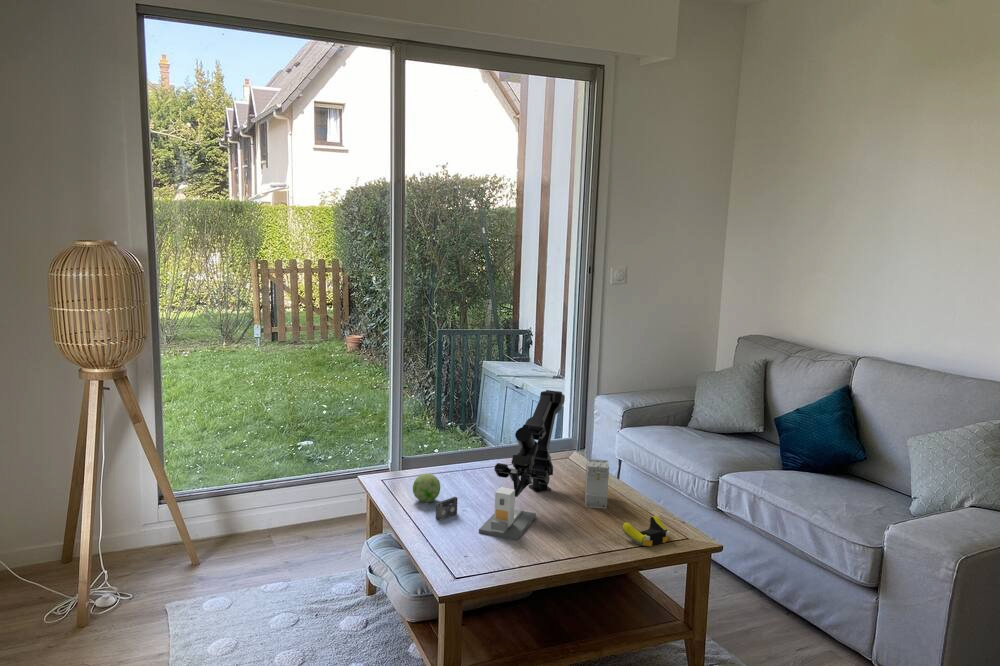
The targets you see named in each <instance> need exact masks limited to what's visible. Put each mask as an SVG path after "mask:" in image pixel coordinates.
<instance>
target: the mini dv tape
mask: <svg viewBox="0 0 1000 666" xmlns="http://www.w3.org/2000/svg"><path fill="white" fill-rule="evenodd" d="M455 514H456V515H457V514H458V497H457V496H453V497H450V498H447V499H444V500H442V501H438V502H436V504H435V520H436V519H437V521H438V520H439V521H441V519H442V520H444V518H445V519H447V518H450V517H453V516H455ZM452 515H453V516H452ZM449 516H450V517H449Z"/></svg>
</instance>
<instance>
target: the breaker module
mask: <svg viewBox="0 0 1000 666" xmlns="http://www.w3.org/2000/svg"><path fill="white" fill-rule="evenodd" d="M515 499H516V497H515V489H514V488H508V487H502V486H501V487H499V488H498V489H497V490H496V491H495V493H494V513H495V516H494V520H495V521H501V522H506V523H507V527H508V529H509V528H510V527H511V526H512V525H513V522H514V508H515Z"/></svg>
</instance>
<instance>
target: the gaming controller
mask: <svg viewBox="0 0 1000 666" xmlns="http://www.w3.org/2000/svg"><path fill="white" fill-rule="evenodd" d="M622 531H623V532H624V534H625V535H626V536H627V537H628V539H631V540H632V541H634V542H635V543H637V544H638V546H641V545H643V546H642V547H644V546H645V547H652V546H656V545H660V544H665V543H666V542H667V541H668V540H669V534H670V531H669V529H666V527H665V525H664V523H663V522H662V520H661V518H660V517H658V516H657V515H653V516H650V520H649V528H648V529H646V530H642V531H639V530H638V529H636V528H635V527H634V526H633V525H632V524H630V522H628V521H627V522H624V523H623V526H622ZM625 535H624V536H625ZM659 543H660V544H659Z"/></svg>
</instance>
